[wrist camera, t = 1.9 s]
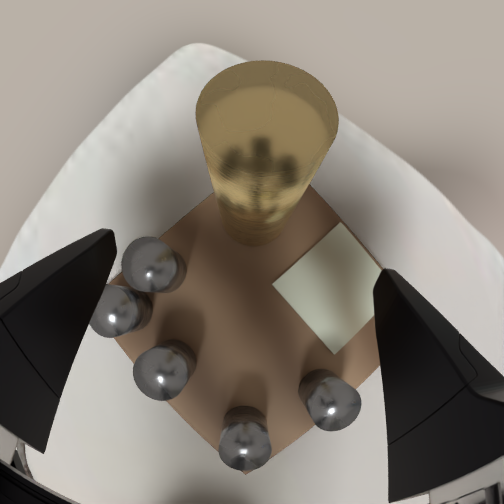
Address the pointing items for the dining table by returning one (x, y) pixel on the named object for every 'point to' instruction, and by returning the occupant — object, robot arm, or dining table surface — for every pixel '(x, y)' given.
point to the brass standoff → (263, 143)
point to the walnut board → (264, 316)
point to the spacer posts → (184, 361)
